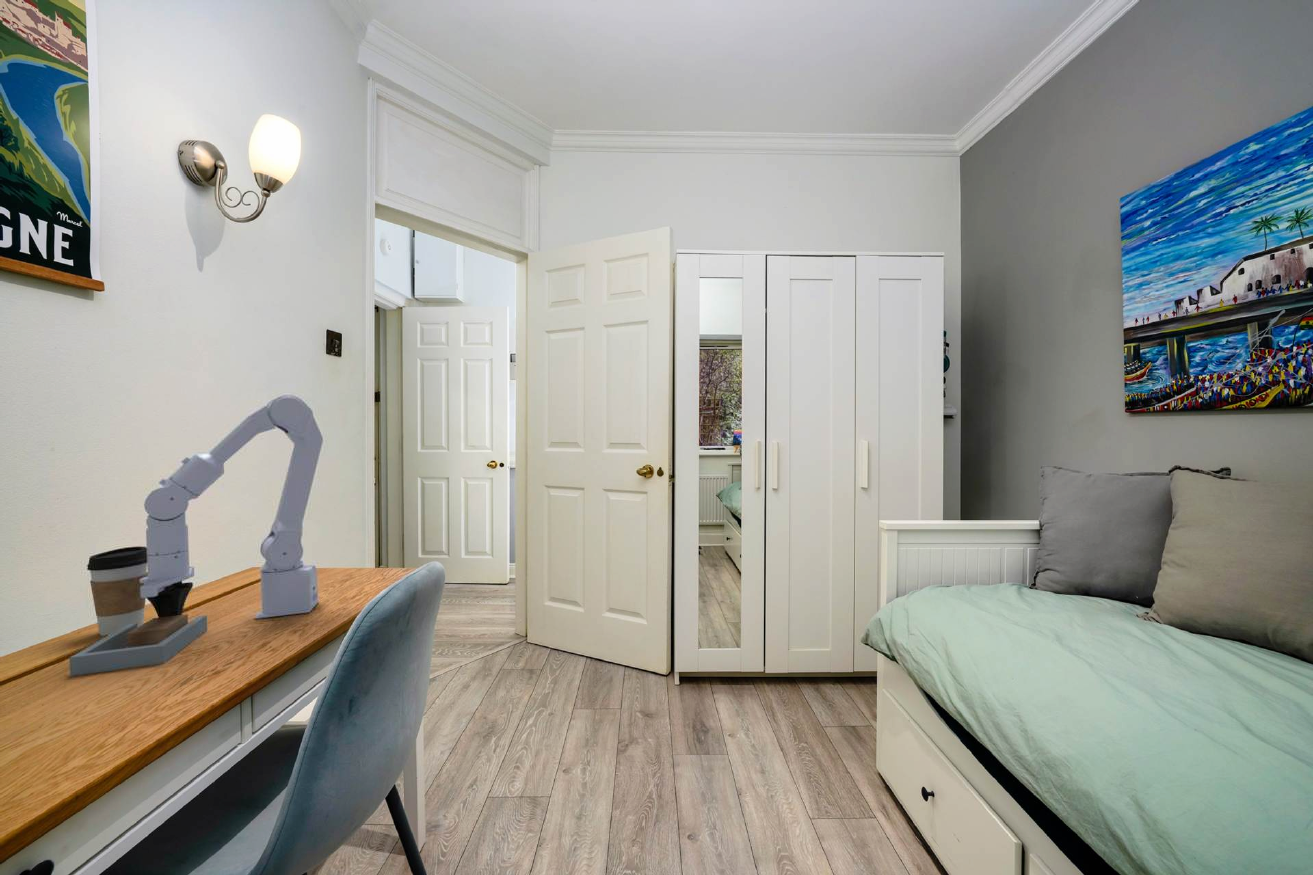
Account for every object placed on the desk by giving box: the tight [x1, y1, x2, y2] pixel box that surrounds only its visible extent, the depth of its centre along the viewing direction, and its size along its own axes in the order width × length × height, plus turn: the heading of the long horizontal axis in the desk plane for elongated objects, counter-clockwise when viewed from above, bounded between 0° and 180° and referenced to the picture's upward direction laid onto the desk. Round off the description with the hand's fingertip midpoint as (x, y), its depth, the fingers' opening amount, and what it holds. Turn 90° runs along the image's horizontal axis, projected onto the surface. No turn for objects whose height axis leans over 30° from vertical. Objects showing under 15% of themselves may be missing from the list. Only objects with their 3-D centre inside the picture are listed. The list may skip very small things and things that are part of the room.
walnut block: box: [127, 614, 189, 648], centre depth 94 cm, size 5×8×4 cm, turn 20°
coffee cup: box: [86, 545, 148, 637], centre depth 102 cm, size 8×8×15 cm
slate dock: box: [69, 614, 208, 677], centre depth 91 cm, size 11×16×3 cm
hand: (170, 625), depth 99 cm, fingers closed
